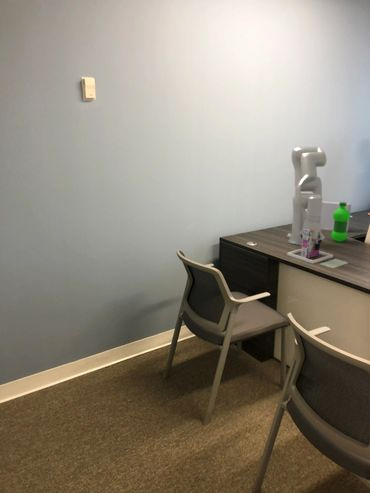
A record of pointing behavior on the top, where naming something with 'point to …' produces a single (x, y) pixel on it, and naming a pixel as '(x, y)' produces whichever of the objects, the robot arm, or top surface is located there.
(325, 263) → the rubber mat
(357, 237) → the top surface
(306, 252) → the candy bar box
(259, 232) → the top surface
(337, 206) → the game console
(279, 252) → the top surface
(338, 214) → the plastic bottle
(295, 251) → the grey square frame
